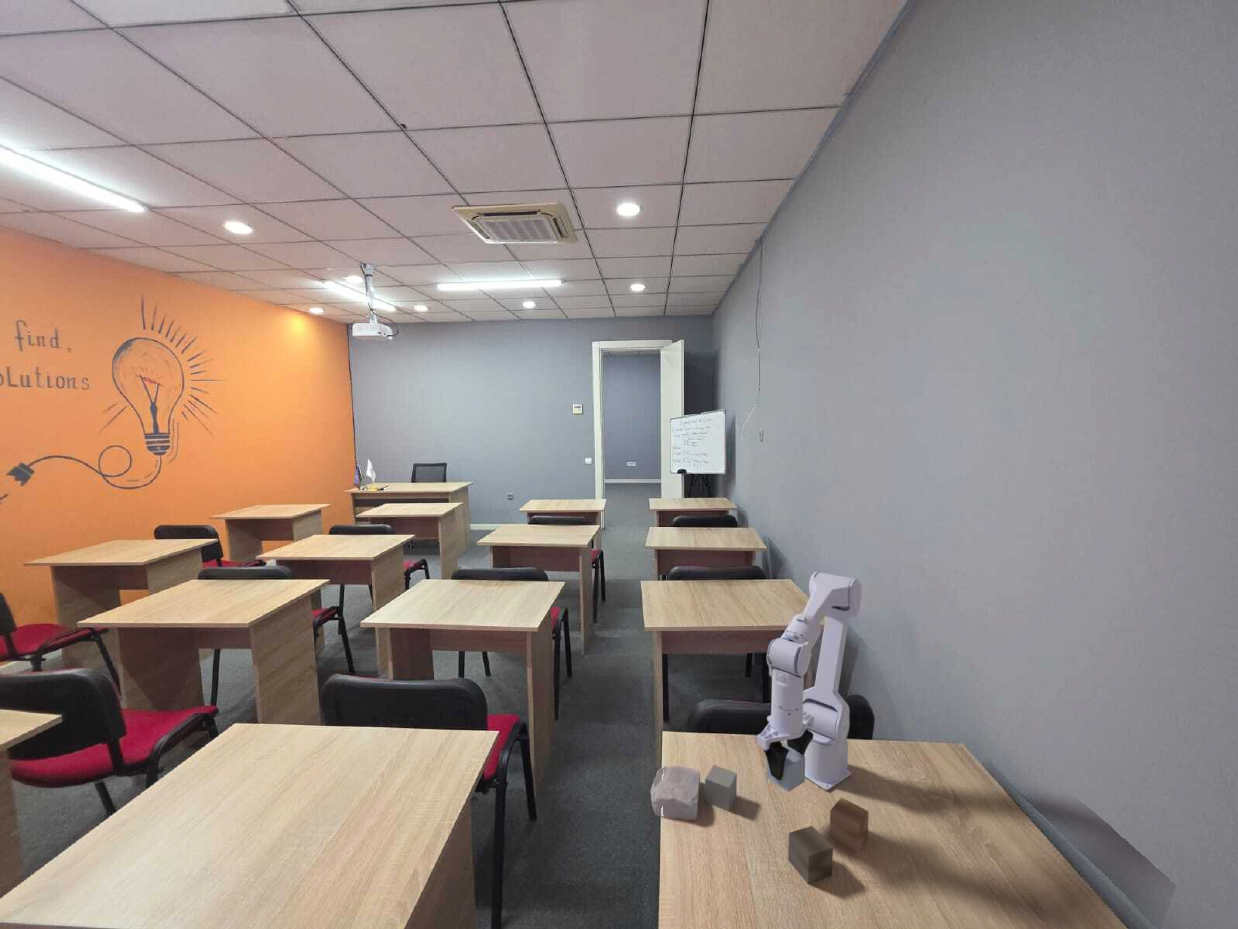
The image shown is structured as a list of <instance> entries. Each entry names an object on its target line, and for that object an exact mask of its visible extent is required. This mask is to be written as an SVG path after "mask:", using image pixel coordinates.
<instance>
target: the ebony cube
mask: <svg viewBox="0 0 1238 929" xmlns="http://www.w3.org/2000/svg"><path fill="white" fill-rule="evenodd" d="M833 851H834V848H833V846H832V845H831V844H830V843H829V842H828V841H827V840H826V839H825V837H823V836H822V835H821V833H819V831H818V830H817V829H816V828H815V827H814V826H813V825H811V826H806V827H803V828H800V829H797V830H794V831H790V832H788V851H787V852H788V855H787V856H788V861H789V863H790V864H791V865H792V866H793V868H794V869H795V870H796V871H797V872H798V874H799V875H800V876H801V878H802V879H803V880H804V881H805V882H806V884H807V885H810V884H813V883H815V882H818V881H821V880H824V879H826V878H829V877H832V876H833V859H834V858H833V857H834V852H833Z"/></svg>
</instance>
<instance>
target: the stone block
mask: <svg viewBox="0 0 1238 929" xmlns="http://www.w3.org/2000/svg"><path fill="white" fill-rule="evenodd" d="M663 770H664V772H663ZM663 773H664V776H663V780H662V775H663ZM700 773H701V771H700V770H696V769H694V768H690V767H685V766H680V765H669V766H667V765H666V766H664V767H661V768H659V769H658V770H657V772H656V775H655V776H654V779H653V782H652V784H651V787H650V788H651V789H650V791H649V792H650V798H651V799H650V802H651V807H652V809H653V810H652V811H653V812H654V814H655V816H658V817H661V808H662V806H663V815H664V817H665V818H664V817H663V818H664V819H670V820H671V819H673V820H683V821H693V822H696V821H697V819H698V813H699V812H698V811H699V794H700V783H701V782H700V780H701V778H700V777H701V774H700Z"/></svg>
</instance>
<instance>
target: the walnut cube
mask: <svg viewBox="0 0 1238 929" xmlns="http://www.w3.org/2000/svg"><path fill="white" fill-rule="evenodd" d="M869 812H870V811H869V810H867V809H865V808H863V807H861V806H859V805H857V804H856V803H854V802H852V801H850V800H848V799H846V798H844V797H841V796H840V798H839V799H838V800H837V802H836V803H835V804H834V805H833V806H832V808H831V809H830V811H829V837H831V838H833V839H835V840H836V841H838V842H839V843H841V844H843V845H845V846H846V847H848V848H849V849H851V850H852V851H853V852H854V851H855V852H856V853H859V851H860V850H861V848H862V846H863V845H864V844H865V841H866V840H867V839H868V837H869Z"/></svg>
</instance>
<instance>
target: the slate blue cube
mask: <svg viewBox="0 0 1238 929" xmlns="http://www.w3.org/2000/svg"><path fill="white" fill-rule="evenodd" d="M782 746H783V747H785V748H787V749H788V750H790V751H789V753H788V754H787V757H786V759H785V763H784V771H783V777H782V780H780V781H779V780H777V779H776V778H774V777H773V776H772V775H771V773H770V768H769V764H768V761H767V760H766V775H765V776H766V778H767V779H768V780H770V781H771V782H773V783H774V784H776V785H777V786H779V787H780V788H781V789H783V790H784V791H786V792H787V793H790V792H791V791H793V790H794V789H795V788H797V787H799V786H800V785H802V784H804V783H806V779H805V778H806V777H805V756H803V755H802V754H800V753H799V752H797V751H795V750H794V749H792V748H791V747H789V746H787V743H782Z"/></svg>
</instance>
